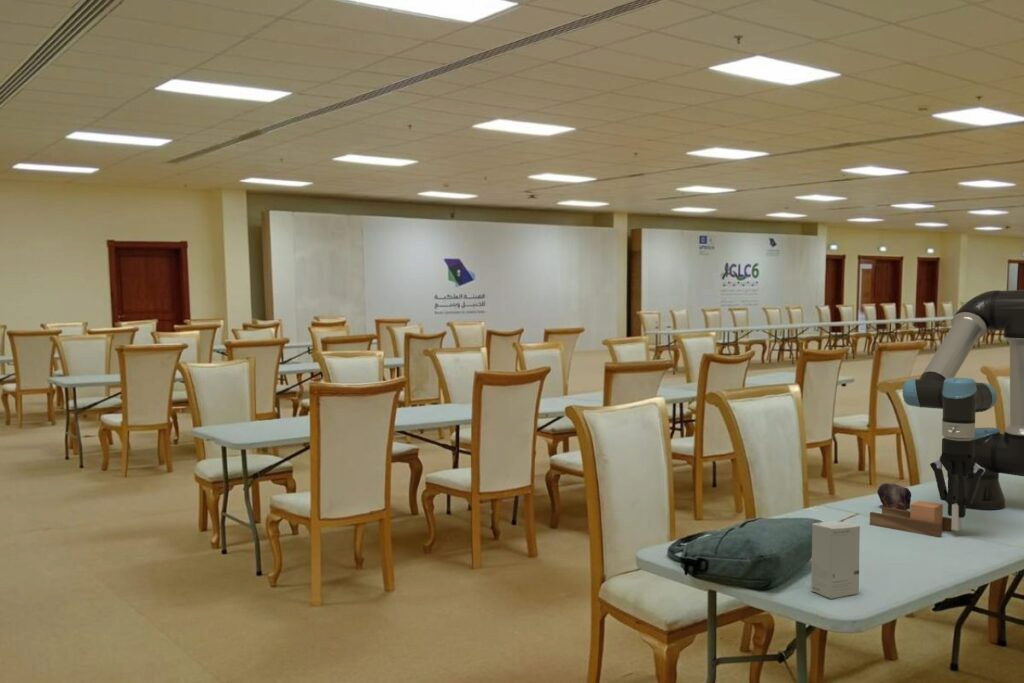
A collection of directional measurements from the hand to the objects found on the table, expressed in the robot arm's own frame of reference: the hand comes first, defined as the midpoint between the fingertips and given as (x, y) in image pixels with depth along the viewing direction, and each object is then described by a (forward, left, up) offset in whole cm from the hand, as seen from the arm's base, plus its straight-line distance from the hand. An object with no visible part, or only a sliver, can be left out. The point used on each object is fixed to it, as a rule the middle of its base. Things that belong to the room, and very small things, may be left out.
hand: (956, 529), depth 222 cm
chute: (0, -15, -3) cm, 16 cm away
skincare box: (+60, -4, -3) cm, 60 cm away
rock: (-19, -23, -3) cm, 30 cm away
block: (0, -7, -2) cm, 8 cm away
